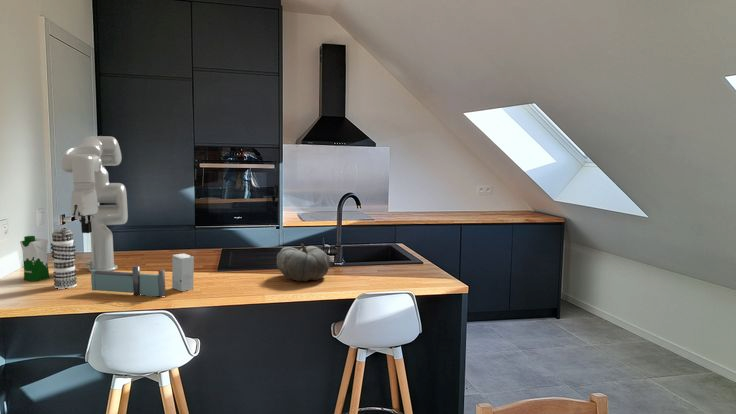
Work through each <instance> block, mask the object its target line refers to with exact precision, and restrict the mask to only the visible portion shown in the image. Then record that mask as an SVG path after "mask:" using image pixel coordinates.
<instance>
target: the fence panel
mask: <svg viewBox="0 0 736 414" xmlns="http://www.w3.org/2000/svg"><path fill="white" fill-rule="evenodd" d="M157 272H158V274H153V273H152V274H150V273H140V294H141V295H146V296H145V297H152V296H160V297H162V296H166V272H165V269H159V270H158V271H157ZM141 295H140V296H141ZM160 297H159V298H160Z"/></svg>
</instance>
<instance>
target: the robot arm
mask: <svg viewBox="0 0 736 414" xmlns="http://www.w3.org/2000/svg"><path fill="white" fill-rule="evenodd" d="M122 158H123V157H122V150H121V148H120V145H119V142H118V140H117V139H116V137H114V136H111V135H110V136H107V135H106V136H103V135H99V136H98V135H91V136H86V137H85V138H84V139H83V141H82V143H81V144H80V145H77V146H75V147H71V148H68V149H66V150H65V151H64V152H63V154H62V156H61V160H60V165H61V169H62V170H63V171H64V172H65V173H67V174H68V173H69V174H72V186H73V187H72V188H73V190H72V191H71V198H70V199H71V200H70V213H71V216H73V217H74V220H76V221H77V220H78V221H79V223H80V224H81V225H80V226H81V233H83V234H89V235H90V249H91V250H90V251H91V260H89V259H88V260H86V262H85V265H86V266H89V267H88V271H89V272H90V273H91V271H92V270H97V271H113V272H114V271H115V270H117V269H118V265H117V264H115V260H114V259H115V257H114V238H113V237H114V236H113V232H112V231H111V229H110V228H109V227H107V226H113V225H125V224H126V223H127V222H128V218H129V214H128V212H129V211H128V198H127V197H128V194H127V188H126V186H125V185H124V184H123V183H121V182H110V180H109V172H108V170H107V169H106V166H107V167H108V166H112V167H113V166H114V167H116V166H120V164H121V163H122ZM102 203H103V205H99V204H102ZM105 203H107V204H108V205H107V204H106V205H104V204H105ZM109 203H110V205H109ZM111 203H115V204H113V205H111Z"/></svg>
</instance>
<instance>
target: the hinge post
mask: <svg viewBox="0 0 736 414" xmlns="http://www.w3.org/2000/svg"><path fill="white" fill-rule="evenodd" d="M131 270H132V272H131V273H132V274H133V296H134V295H140V274H141V267H140V266H139V265H133V266H132V268H131ZM140 296H141V295H140Z"/></svg>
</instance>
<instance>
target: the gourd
mask: <svg viewBox="0 0 736 414" xmlns="http://www.w3.org/2000/svg"><path fill="white" fill-rule="evenodd" d="M300 246H301V248H300V249H298V248H294V247H292V246H285V247H283V248H281V250H280V251H279V252H278V253H277V255H276V267H277V270H279V272H280V273H281V274H282V275H283V276H285V277H286V278H288V279H290V280H294V281H297V282H307V281H309V280H310V281H317V280H321V279H322V278H323V277H325V276H326V275H327V273H328V271H329V269H330V265H331V263H330V262H331V260H330V257H329V255H328V254H327V253H326V252H325V251H324V250H323V249H321V248H320V247H318V246H313V245H309V246H306V247H305V245H304V243H300Z"/></svg>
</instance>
